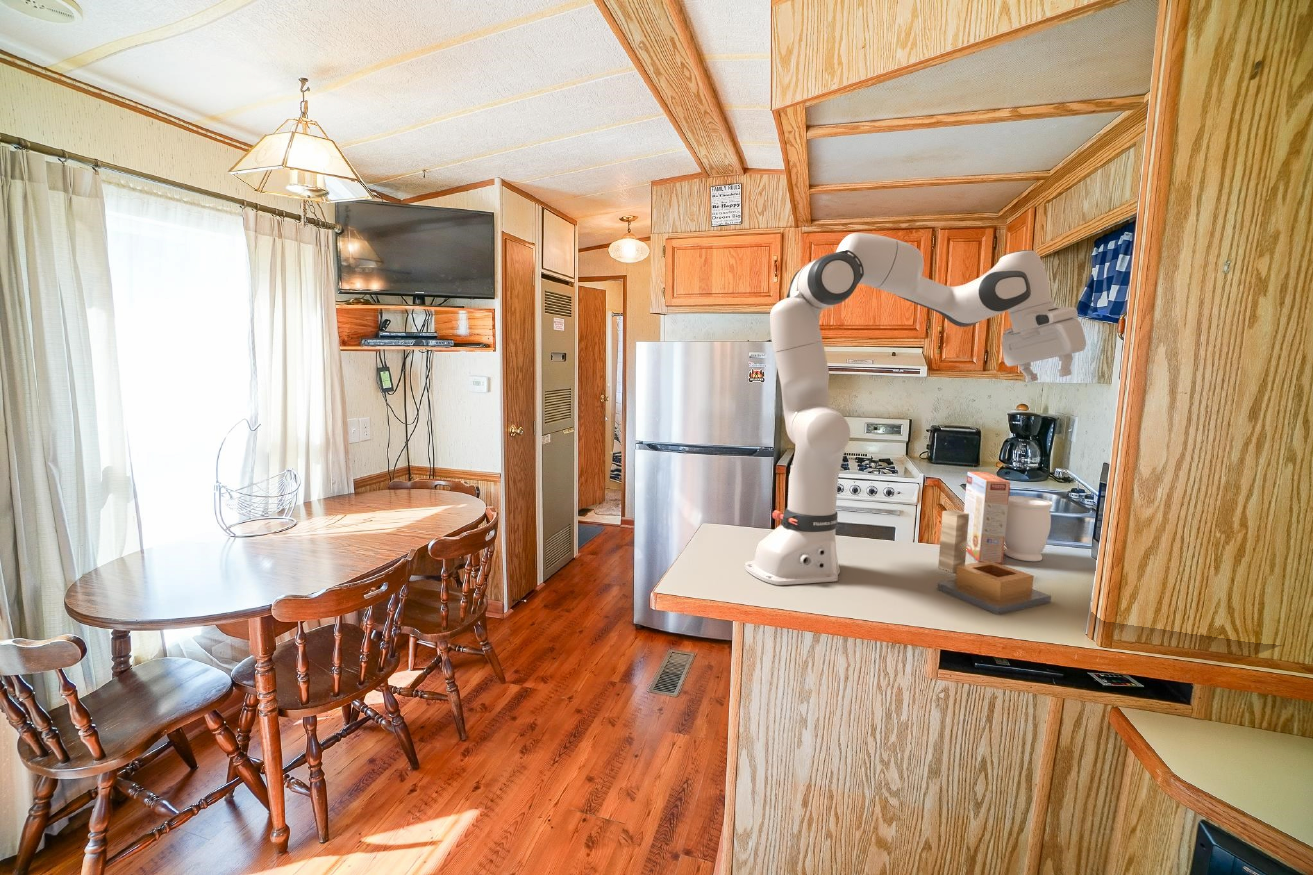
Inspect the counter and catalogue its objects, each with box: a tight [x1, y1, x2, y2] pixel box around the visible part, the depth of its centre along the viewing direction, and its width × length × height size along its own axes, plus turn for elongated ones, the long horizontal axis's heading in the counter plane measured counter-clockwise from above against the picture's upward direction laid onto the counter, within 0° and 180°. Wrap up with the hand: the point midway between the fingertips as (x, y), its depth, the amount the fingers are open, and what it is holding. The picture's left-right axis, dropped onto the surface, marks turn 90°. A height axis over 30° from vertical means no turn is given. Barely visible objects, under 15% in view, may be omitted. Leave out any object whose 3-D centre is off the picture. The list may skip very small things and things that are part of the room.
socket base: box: [936, 561, 1052, 615], centre depth 122 cm, size 16×14×6 cm
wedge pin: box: [937, 509, 969, 574], centre depth 137 cm, size 4×4×14 cm
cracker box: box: [963, 471, 1011, 565], centre depth 148 cm, size 14×6×21 cm, turn 168°
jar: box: [1003, 495, 1053, 562], centre depth 147 cm, size 11×10×15 cm
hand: (1048, 378), depth 132 cm, fingers open, 8 cm apart
